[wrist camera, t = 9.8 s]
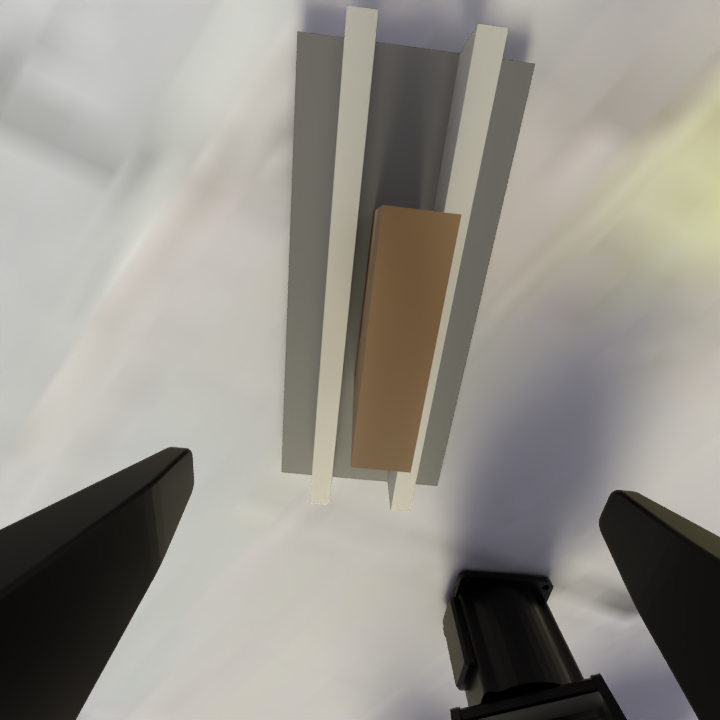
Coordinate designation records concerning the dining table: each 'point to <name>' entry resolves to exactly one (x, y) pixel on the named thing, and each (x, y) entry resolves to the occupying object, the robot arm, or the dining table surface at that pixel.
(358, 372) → the door panel
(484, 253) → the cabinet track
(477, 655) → the robot arm
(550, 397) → the dining table surface
